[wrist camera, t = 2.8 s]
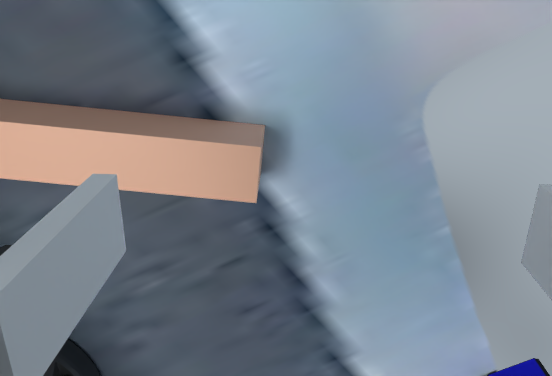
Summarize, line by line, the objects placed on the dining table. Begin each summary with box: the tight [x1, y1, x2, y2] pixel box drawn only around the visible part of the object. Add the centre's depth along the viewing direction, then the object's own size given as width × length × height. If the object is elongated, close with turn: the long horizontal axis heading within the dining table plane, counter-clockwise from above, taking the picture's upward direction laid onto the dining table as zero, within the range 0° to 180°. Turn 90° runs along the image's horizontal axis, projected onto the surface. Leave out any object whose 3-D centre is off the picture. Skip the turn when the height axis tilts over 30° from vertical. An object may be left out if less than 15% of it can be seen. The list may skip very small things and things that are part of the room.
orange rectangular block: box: [0, 99, 265, 203], centre depth 35 cm, size 22×4×6 cm, turn 85°
